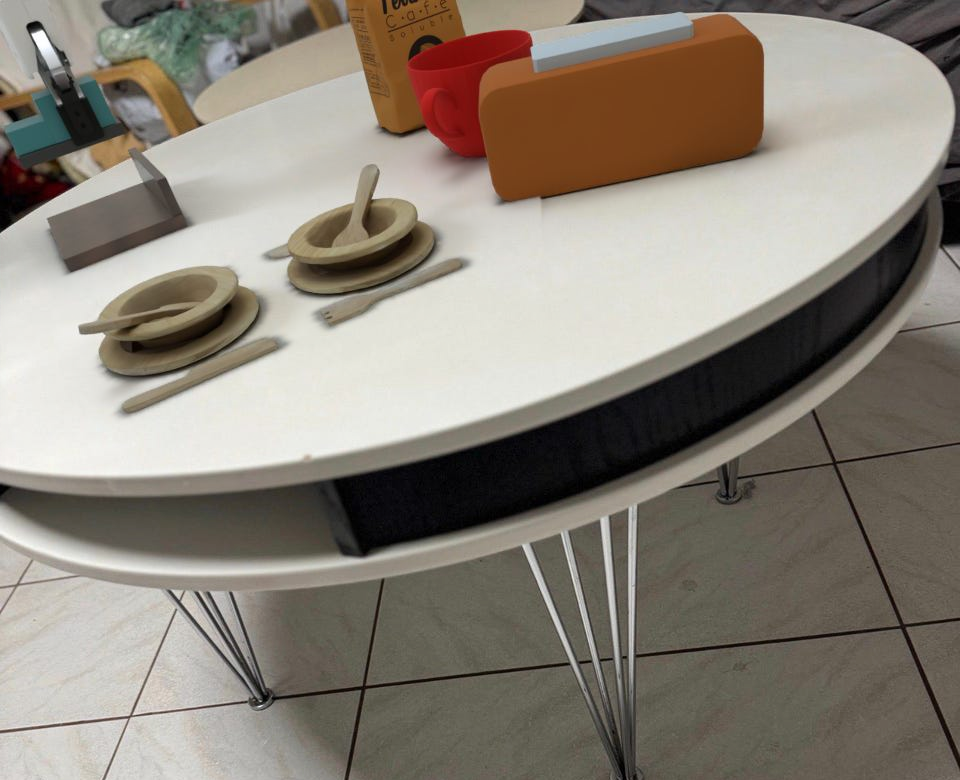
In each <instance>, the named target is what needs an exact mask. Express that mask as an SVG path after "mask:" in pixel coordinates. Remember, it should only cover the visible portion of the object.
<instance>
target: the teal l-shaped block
mask: <svg viewBox="0 0 960 780" xmlns="http://www.w3.org/2000/svg"><path fill="white" fill-rule="evenodd" d="M75 79H76V81H77V83H78V85H79V87H80V89H81V91H82V93H83V95H84V97H87V99H88V101H89V103H90V105H91V107H92V109H93V111H94V113H95V115H96V117H97V119H98V121H99V123H100V125H101V127H102V129H103V131H104V134H105V136H104V137H103V138H101V139H98V140H96V141H93V142H90V143H87V144H84V145H81V146H76V145H75V144H74V142H73V140H72V138H71V137H70V135H69V133H68V131H67V129H66V127H65V125H64V123H63V121H62V119H61V117H60V115H59V113H58V111H57V109H56V107H57V106H58V105H57V103H56V102H55V100H54V98H53V96H52V94H51V92H50V90H49V88H46V87H45V88H44V89H40V90H38V91H35V92H32V93H29V94H30V97H31V99H32V101H33V103H34V104H35V107H36V109H37V111H38V112H39V113H38V114H35V115H33V116H32V115H31V116H29V117H26V118H23V119H21V120H17V121H14V122H12V123H11V122H10V123H9V124H6V125H3V129H4V132H5V135H6V136H7V139H8V140H9V142H10V144H11V146H12V147H13V151H14V153H15V157H16V159H17V161H18V162H19V164H20V166H21V169H22V170H28V169H31V168H32V167H36V166H38V165H42V164H44V163H46V162H49V161H52V160H56V159H58V158H61V157H63V156H66V155H69V154H72V153H75V152H78V151H81V150H84V149H87V148H90V147H92V146H95V145H97V144H100V143H103V142H107V141H110V140H112V139H115V138H117V137H120V136H123V135H125V134H127V130H126V129H125V126H124V124H123V122H122V121H121V120H120V119H118V118H117V117H116V116H115V115H114V114H113V113H112V110H111V108H110V107H109V104H108V103H107V100H106V98H105V96H104V94H103V92H102V89H101V88H100V85H99V83H98V81H97V79H96V78H94V77H93V76H92V75H90V74H86V75H84V76H83V75H82V76H80V77H77V78H75Z"/></svg>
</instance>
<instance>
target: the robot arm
mask: <svg viewBox="0 0 960 780" xmlns="http://www.w3.org/2000/svg"><path fill="white" fill-rule="evenodd" d="M0 33H1V35H2V36H3V39H4V40H5V42H6V44H7V46H8V48H9V50H10V52H11V53H12V55H13V57H14V59H15V61H16V63H17V65H18V67H19V69H20V70H21V72H22V74H23V75H24V76H25V78H26V79H29V80H35V76H34V74H33V73H36V72H37V73H38V75H39V77H40V79H41V81H42V83H43V85H44V87H45V89H46V88H49V90H50V92H51V94H52V96H53V98H54V100H55V102H56V103H57V105H58V106H57V107H56V109H57V111H58V113H59V115H60V117H61V119H62V121H63V123H64V125H65V127H66V129H67V131H68V133H69V135H70V137H71V138H72V140H73V142H74V144H75V145H76V146H81V145H84V144H87V143H90V142H93V141H96V140H98V139H101V138H103V137H104V136H105V134H104V131H103V129H102V127H101V125H100V123H99V121H98V119H97V117H96V115H95V113H94V111H93V109H92V107H91V105H90V103H89V101H88V99H87V97H84V95H83V93H82V91H81V89H80V87H79V85H78V83H77V81H76V79H77V78H76V77H75V74H74V73H73V71H72V69H71V67H72V66H73V64H74V63H75V59H74V57H73V55H72V52H71V49H70V47H69V44H68V42H67V39H66V37H65V35H64V32H63V30H62V27H61V26H60V22H59V20H58V18H57V16H56V14H55V12H54V10H53V7H52V5H51V2H50V1H49V0H0Z"/></svg>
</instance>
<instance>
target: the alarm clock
mask: <svg viewBox="0 0 960 780" xmlns="http://www.w3.org/2000/svg"><path fill="white" fill-rule="evenodd" d="M531 54H532V56H531V57H526V58H522V59H517V60H513V61H509V62H504V63H500V64H496V65H494V66H492V67H490V68H489V69H488V70H487V71H486V72H485V73H484V74H483V76H482V79H481V81H480V88H479V121H480V125H481V130H482V135H483V140H484V145H485V150H486V155H487V156H486V160H487V164H488V169H489V170H488V171H489V174H490V179H491V184H492V187H493V189H494V192H495V193H496V194H497V196H499V197H500V198H501V199H502V200H505V201H507V202H515V201H520V200H525V199H531V198H535V197H540V198H547V197H551V196H557V195H561V194H567V193H571V192H576V191H581V190H585V189H591V188H595V187H600V186H606V185H610V184H615V183H621V182H625V181H630V180H635V179H641V178H645V177H649V176H654V175H660V174H665V173H669V172H675V171H679V170H680V171H681V170H685V169H690V168H695V167H699V166H704V165H705V166H706V165H709V164H715V163H719V162H724V161H728V160H734V159H739V158H741V157H744V156H747V155H750V153H751V152H753V151H754V150H756V148H757V147H758V145H759V144H760V142H761V140H762V138H763V135H764V130H765V129H764V128H765V52H764V47H763V43H762V42H761V41H760V39H759V38H758V37H757V35H756V34H754V33H753V32H752V31H751V30H749V29H748V28H747V27H746V25H744V24H743V23H742V22H740V20H738V19H737V18H736V17H735V16H732V15H730V14H728V13H716V14H712V15H711V14H710V15H708V16H701V17H699V18H693V19H690V18H689V17H688V15H686V13H684V12H682V11H677V12H673V13H672V12H671V13H668V14H663V15H659V16H655V17H651V18H648V19H642V20H637V21H634V22H629V23H625V24H620V25H616V26H611V27H607V28H602V29H599V30H593V31H590V32H585V33H580V34H577V35H572V36H568V37H563V38H560V39H554V40H551V41H546V42H541V43H538V44H533V46H532V47H531Z"/></svg>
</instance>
